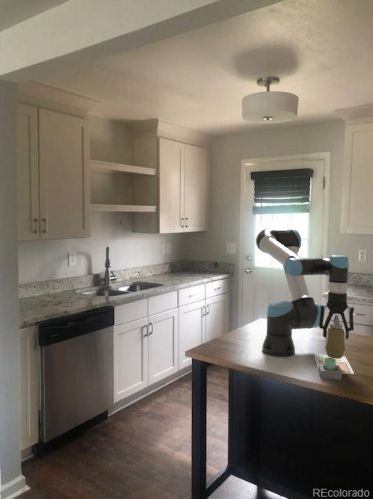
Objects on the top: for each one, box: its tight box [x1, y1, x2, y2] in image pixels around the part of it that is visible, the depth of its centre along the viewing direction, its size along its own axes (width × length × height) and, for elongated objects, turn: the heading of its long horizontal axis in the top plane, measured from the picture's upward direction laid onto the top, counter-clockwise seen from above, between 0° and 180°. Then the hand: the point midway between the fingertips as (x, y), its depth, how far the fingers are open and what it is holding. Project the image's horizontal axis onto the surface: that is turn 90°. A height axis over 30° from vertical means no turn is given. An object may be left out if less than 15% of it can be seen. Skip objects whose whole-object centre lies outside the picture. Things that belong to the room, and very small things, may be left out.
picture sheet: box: [313, 353, 355, 375], centre depth 185 cm, size 14×21×1 cm, turn 169°
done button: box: [324, 358, 336, 371], centre depth 172 cm, size 4×4×5 cm
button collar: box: [317, 364, 343, 381], centre depth 172 cm, size 8×8×3 cm
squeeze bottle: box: [324, 314, 346, 359], centre depth 180 cm, size 8×8×18 cm
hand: (335, 345), depth 180 cm, fingers closed on squeeze bottle, 6 cm apart
